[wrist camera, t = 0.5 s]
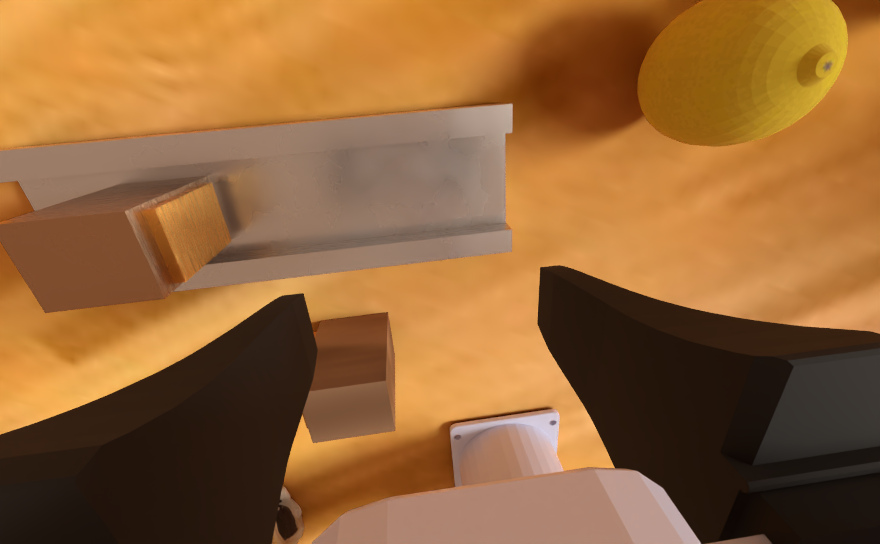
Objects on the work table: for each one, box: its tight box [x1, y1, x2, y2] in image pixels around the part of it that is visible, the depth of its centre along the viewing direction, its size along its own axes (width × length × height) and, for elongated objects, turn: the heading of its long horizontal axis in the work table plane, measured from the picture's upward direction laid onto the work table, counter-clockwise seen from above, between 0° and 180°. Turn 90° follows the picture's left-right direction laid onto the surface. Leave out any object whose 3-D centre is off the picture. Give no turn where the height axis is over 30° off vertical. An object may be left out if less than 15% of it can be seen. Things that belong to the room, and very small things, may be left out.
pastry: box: [272, 486, 304, 544], centre depth 27 cm, size 9×7×4 cm
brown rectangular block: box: [302, 312, 395, 443], centre depth 20 cm, size 3×4×6 cm
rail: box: [0, 103, 513, 313], centre depth 16 cm, size 7×22×7 cm, turn 95°
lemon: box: [637, 0, 848, 146], centre depth 15 cm, size 6×6×8 cm
